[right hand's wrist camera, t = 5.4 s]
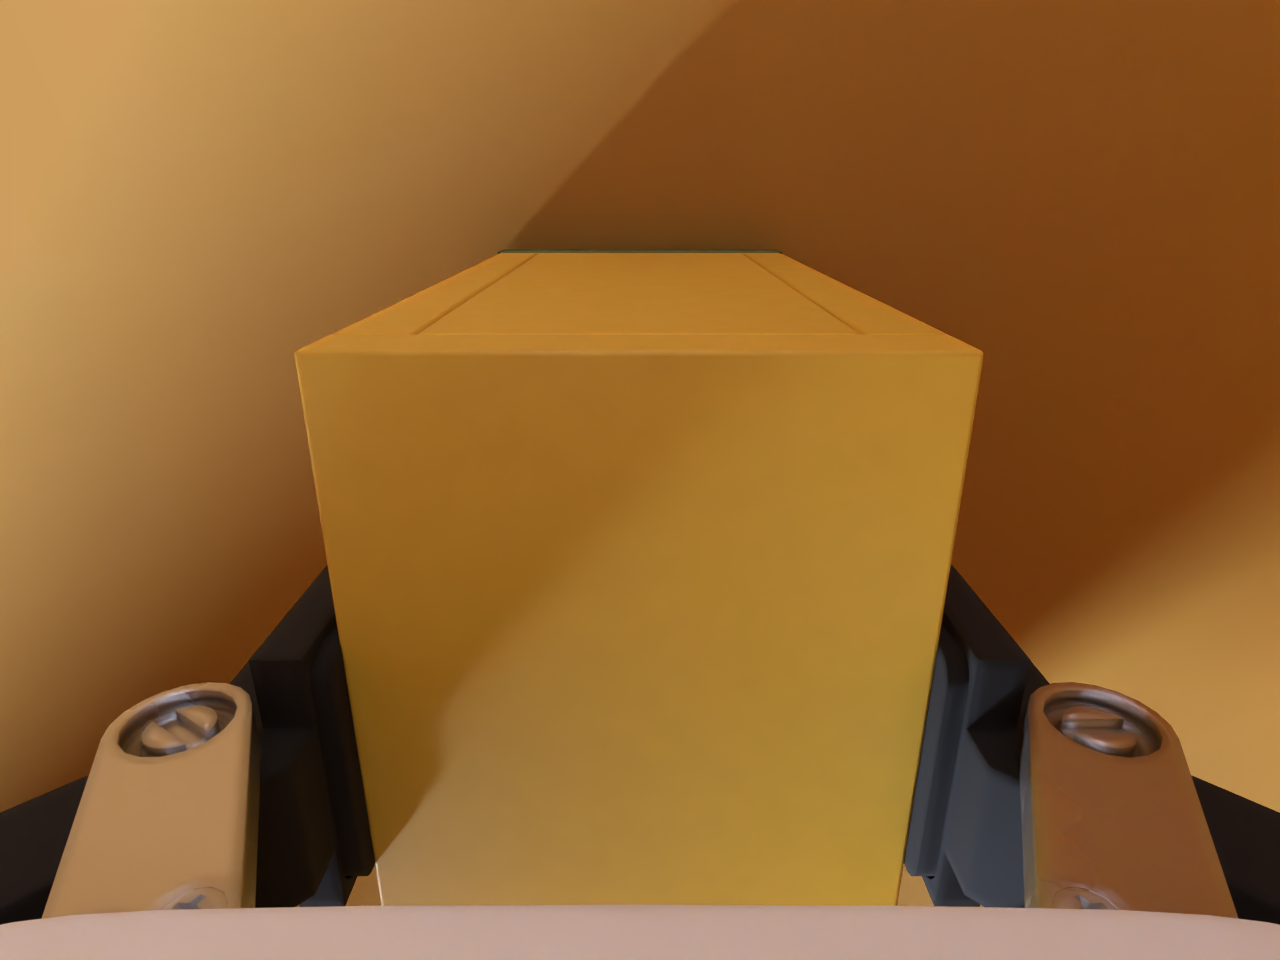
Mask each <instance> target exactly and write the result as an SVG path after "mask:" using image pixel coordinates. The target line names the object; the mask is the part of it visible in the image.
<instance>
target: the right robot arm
mask: <svg viewBox="0 0 1280 960" xmlns="http://www.w3.org/2000/svg"><path fill="white" fill-rule="evenodd" d="M904 864H905V866H906V868H907V871H908V873H909V874H910V875H911V876H922V877H923V880H924V882H925V885H926V887H927V889H928V892H929V894H930V897H931V899H932V902H933V904H934V906H841V905H440V906H345V905H346V903H347V900H348V898H349V895H350V893H351V890H352V888H353V886H354V883H355V881H356V878H357V876H368V875H369V874H370V873H371V871H372V869H373V867H374V865H375V858H374V851H373V845H372V839H371V832H370V826H369V820H368V813H367V807H366V801H365V794H364V788H363V782H362V775H361V769H360V763H359V756H358V750H357V744H356V737H355V731H354V725H353V718H352V712H351V706H350V699H349V693H348V687H347V680H346V674H345V668H344V662H343V655H342V649H341V644H340V640H339V634H338V628H337V621H336V615H335V609H334V602H333V596H332V590H331V583H330V577H329V571H328V565H327V566H326V567H325V568H324V570H323V571H322V572H321V573H320V574H319V576H318V577H317V578H316V579H315V581H314V582H313V583H312V584H311V585H310V587H309V588H308V589H307V590H306V591H305V593H304V594H303V595H302V596H301V597H300V599H299V600H298V601H297V602H296V604H295V605H294V606H293V607H292V608H291V610H290V611H289V612H288V613H287V614H286V616H285V617H284V618H283V619H282V621H281V622H280V623H279V624H278V625H277V627H276V628H275V629H274V630H273V631H272V633H271V634H270V635H269V636H268V637H267V639H266V640H265V641H264V642H263V644H262V645H261V646H260V647H259V648H258V650H257V651H256V652H255V653H254V654H253V656H252V657H251V658H250V659H249V661H248V662H247V664H246V665H245V666H244V667H243V668H242V670H241V671H240V672H239V673H238V674H237V676H236V677H235V678H234V679H233V681H232V682H231V683H230V684H227V683H212V682H206V683H198V684H191V685H185V686H181V687H178V688H174V689H171V690H167V691H164V692H161V693H159V694H157V695H154V696H152V697H150V698H147V699H145V700H143V701H141V702H139V703H138V704H136V705H134V706H133V707H131V708H130V709H128V710H126V711H125V712H123V713H122V714H121V715H120V716H119V717H118V718H117V719H116V720H114V721H113V722H112V723H111V724H110V725H109V726H108V728H107V730H106V731H105V733H104V735H103V736H102V738H101V740H100V743H99V746H98V749H97V752H96V755H95V759H94V762H93V765H92V768H91V771H90V774H89V775H88V776H85V777H83V778H81V779H78V780H76V781H74V782H71V783H69V784H67V785H64V786H62V787H60V788H57V789H55V790H53V791H50V792H48V793H46V794H43V795H41V796H39V797H36V798H34V799H31V800H29V801H27V802H24V803H22V804H20V805H17V806H15V807H13V808H10V809H8V810H6V811H3V812H1V813H0V960H1280V813H1279V812H1276V811H1274V810H1272V809H1269V808H1267V807H1265V806H1262V805H1260V804H1257V803H1255V802H1253V801H1250V800H1248V799H1246V798H1243V797H1241V796H1239V795H1236V794H1234V793H1232V792H1229V791H1227V790H1225V789H1222V788H1220V787H1218V786H1215V785H1213V784H1210V783H1208V782H1206V781H1203V780H1201V779H1199V778H1196V777H1194V776H1192V775H1191V774H1190V771H1189V768H1188V765H1187V762H1186V759H1185V755H1184V752H1183V749H1182V746H1181V743H1180V740H1179V738H1178V736H1177V735H1176V733H1175V731H1174V730H1173V728H1172V726H1171V725H1170V724H1169V723H1168V722H1167V721H1166V720H1164V719H1163V718H1162V717H1161V716H1160V715H1159V714H1158V713H1157V712H1155V711H1154V710H1152V709H1150V708H1149V707H1147V706H1146V705H1144V704H1142V703H1141V702H1139V701H1137V700H1135V699H1133V698H1130V697H1128V696H1126V695H1123V694H1121V693H1119V692H1116V691H1113V690H1109V689H1106V688H1102V687H1099V686H1095V685H1089V684H1082V683H1074V682H1068V683H1053V684H1049V683H1048V681H1047V680H1046V679H1045V678H1044V676H1043V675H1042V674H1041V673H1040V672H1039V670H1038V669H1037V668H1036V667H1035V666H1034V664H1033V663H1032V662H1031V661H1030V659H1029V658H1028V656H1027V655H1026V654H1025V653H1024V652H1023V650H1022V649H1021V648H1020V647H1019V646H1018V644H1017V643H1016V642H1015V641H1014V640H1013V638H1012V637H1011V636H1010V635H1009V633H1008V632H1007V631H1006V630H1005V629H1004V627H1003V626H1002V625H1001V624H1000V623H999V621H998V620H997V619H996V618H995V616H994V615H993V614H992V613H991V612H990V610H989V609H988V608H987V607H986V606H985V604H984V603H983V602H982V601H981V599H980V598H979V597H978V596H977V595H976V593H975V592H974V591H973V590H972V589H971V587H970V586H969V585H968V584H967V583H966V581H965V580H964V579H963V578H962V576H961V575H960V574H959V573H958V572H957V570H956V569H955V568H954V567H953V566H952V564H951V566H950V573H949V579H948V585H947V592H946V598H945V604H944V611H943V617H942V623H941V630H940V636H939V642H938V649H937V655H936V661H935V668H934V674H933V680H932V687H931V693H930V699H929V706H928V712H927V718H926V725H925V731H924V737H923V744H922V750H921V756H920V763H919V769H918V776H917V782H916V788H915V795H914V801H913V807H912V814H911V820H910V826H909V833H908V839H907V845H906V852H905V858H904ZM297 905H300V907H296V906H297ZM980 905H982V906H984V907H980Z"/></svg>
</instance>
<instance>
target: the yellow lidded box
mask: <svg viewBox="0 0 1280 960" xmlns="http://www.w3.org/2000/svg"><path fill="white" fill-rule="evenodd" d="M983 357H984V356H983V352H982V351H981V350H979V349H977V348H975V347H973V346H971V345H968V344H966V343H964V342H962V341H960V340H958V339H956V338H954V337H952V336H950V335H948V334H946V333H944V332H941V331H939V330H937V329H935V328H933V327H931V326H929V325H927V324H925V323H923V322H921V321H919V320H917V319H915V318H913V317H911V316H908V315H906V314H904V313H902V312H900V311H898V310H896V309H894V308H892V307H890V306H888V305H886V304H884V303H882V302H880V301H878V300H876V299H873V298H871V297H869V296H867V295H865V294H863V293H861V292H859V291H857V290H855V289H853V288H851V287H849V286H847V285H845V284H843V283H840V282H838V281H836V280H834V279H832V278H830V277H828V276H826V275H824V274H822V273H820V272H818V271H816V270H814V269H812V268H810V267H807V266H805V265H803V264H801V263H799V262H797V261H795V260H793V259H791V258H789V257H787V256H785V255H783V254H782V252H780V251H778V250H502V251H500V252H498V255H496V256H493V257H491V258H489V259H487V260H485V261H483V262H481V263H479V264H477V265H475V266H473V267H471V268H469V269H466V270H464V271H462V272H460V273H458V274H456V275H454V276H452V277H450V278H448V279H446V280H444V281H442V282H439V283H437V284H435V285H433V286H431V287H429V288H427V289H425V290H423V291H421V292H419V293H417V294H415V295H412V296H410V297H408V298H406V299H404V300H402V301H400V302H398V303H396V304H394V305H392V306H390V307H388V308H386V309H383V310H381V311H379V312H377V313H375V314H373V315H371V316H369V317H367V318H365V319H363V320H361V321H359V322H356V323H354V324H352V325H350V326H348V327H346V328H344V329H342V330H340V331H338V332H336V333H334V334H332V335H328V336H326V337H324V338H322V339H320V340H318V341H316V342H314V343H312V344H309V345H307V346H305V347H303V348H301V349H299V350H297V351H296V352H295V362H296V368H297V375H298V381H299V387H300V394H301V400H302V406H303V413H304V419H305V425H306V432H307V438H308V444H309V451H310V457H311V463H312V470H313V476H314V482H315V488H316V495H317V501H318V507H319V514H320V520H321V526H322V533H323V539H324V545H325V552H326V558H327V564H328V571H329V577H330V583H331V590H332V596H333V602H334V609H335V615H336V621H337V628H338V634H339V640H340V644H341V649H342V655H343V662H344V668H345V674H346V680H347V687H348V693H349V699H350V706H351V712H352V718H353V725H354V731H355V737H356V744H357V750H358V756H359V763H360V769H361V775H362V782H363V788H364V794H365V801H366V807H367V813H368V820H369V826H370V832H371V839H372V845H373V851H374V858H375V868H376V874H377V880H378V887H379V893H380V899H381V906H440V905H841V906H897V902H898V896H899V890H900V883H901V877H902V871H903V864H904V858H905V852H906V845H907V839H908V833H909V826H910V820H911V814H912V807H913V801H914V795H915V788H916V782H917V776H918V769H919V763H920V756H921V750H922V744H923V737H924V731H925V725H926V718H927V712H928V706H929V699H930V693H931V687H932V680H933V674H934V668H935V661H936V655H937V649H938V642H939V636H940V630H941V623H942V617H943V611H944V604H945V598H946V592H947V585H948V579H949V573H950V566H951V560H952V554H953V547H954V541H955V534H956V528H957V522H958V515H959V509H960V503H961V496H962V490H963V484H964V477H965V471H966V465H967V458H968V452H969V446H970V439H971V433H972V427H973V420H974V414H975V408H976V401H977V395H978V389H979V382H980V376H981V370H982V363H983Z"/></svg>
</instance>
